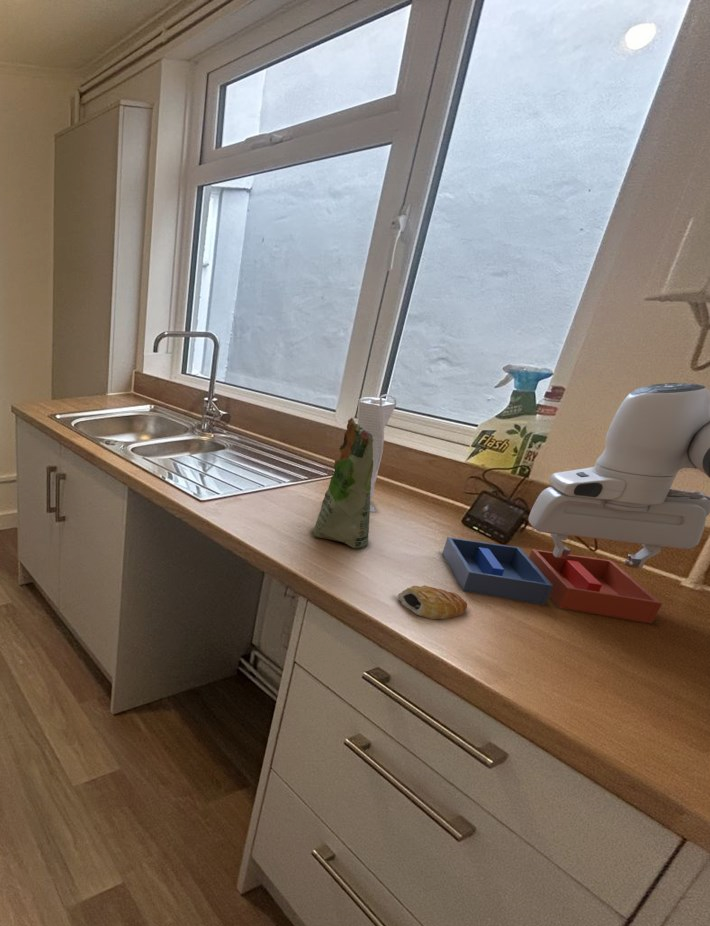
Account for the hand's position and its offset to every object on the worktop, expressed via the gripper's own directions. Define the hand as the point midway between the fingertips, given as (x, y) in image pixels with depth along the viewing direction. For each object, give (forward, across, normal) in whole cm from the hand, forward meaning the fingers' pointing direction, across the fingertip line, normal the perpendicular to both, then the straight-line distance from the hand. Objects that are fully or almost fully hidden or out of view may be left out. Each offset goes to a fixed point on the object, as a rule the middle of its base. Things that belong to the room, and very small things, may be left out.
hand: (595, 561), depth 90 cm
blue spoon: (+5, +14, +2) cm, 15 cm away
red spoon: (+5, +1, +2) cm, 6 cm away
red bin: (+6, +1, +2) cm, 6 cm away
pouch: (+5, +38, -6) cm, 39 cm away
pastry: (+6, +26, +18) cm, 32 cm away
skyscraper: (+5, +33, -28) cm, 43 cm away
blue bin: (+6, +14, +2) cm, 15 cm away
